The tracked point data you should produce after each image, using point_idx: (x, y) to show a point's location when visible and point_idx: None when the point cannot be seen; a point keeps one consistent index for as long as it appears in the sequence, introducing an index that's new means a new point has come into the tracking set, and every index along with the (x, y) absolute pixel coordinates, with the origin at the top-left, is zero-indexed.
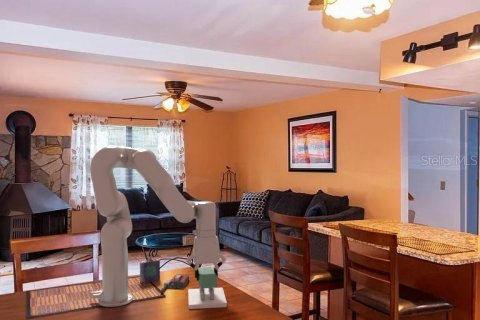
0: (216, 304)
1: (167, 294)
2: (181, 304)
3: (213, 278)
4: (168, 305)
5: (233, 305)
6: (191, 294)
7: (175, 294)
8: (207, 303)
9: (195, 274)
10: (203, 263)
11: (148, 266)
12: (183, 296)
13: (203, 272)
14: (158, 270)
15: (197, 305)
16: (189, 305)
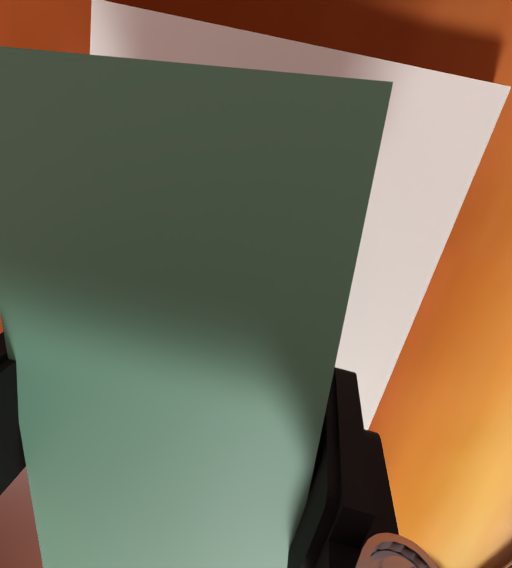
0: (203, 24)
1: (508, 498)
2: (502, 247)
3: (71, 61)
4: None
5: (48, 33)
6: (363, 369)
7: (448, 474)
8: (294, 57)
9: (379, 471)
10: None
11: None
12: (406, 413)
13: (213, 471)
14: None
15: (407, 68)
16: (499, 86)
